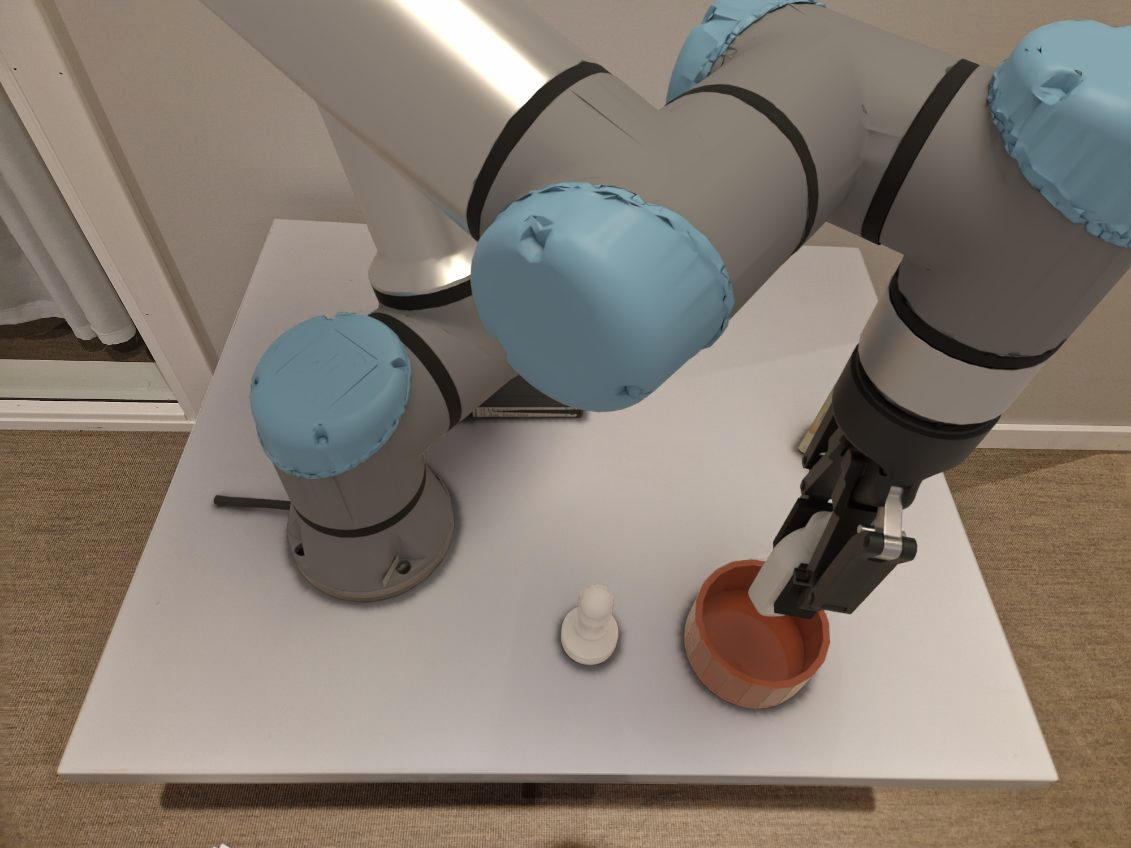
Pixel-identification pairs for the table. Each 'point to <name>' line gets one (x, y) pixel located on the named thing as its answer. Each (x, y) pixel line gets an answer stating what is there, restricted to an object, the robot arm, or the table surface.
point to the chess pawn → (590, 627)
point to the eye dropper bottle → (786, 563)
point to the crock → (750, 642)
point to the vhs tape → (522, 403)
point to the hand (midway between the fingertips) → (791, 579)
